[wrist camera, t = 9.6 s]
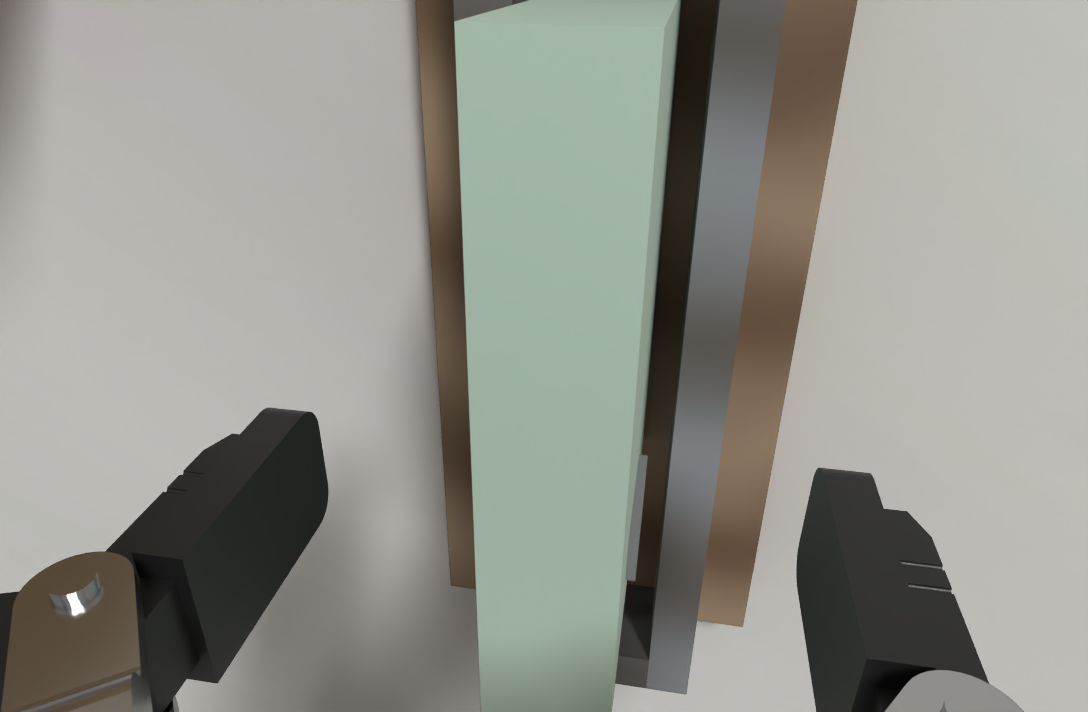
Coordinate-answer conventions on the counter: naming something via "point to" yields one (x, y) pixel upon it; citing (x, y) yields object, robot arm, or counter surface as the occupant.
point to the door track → (680, 300)
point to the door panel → (560, 328)
